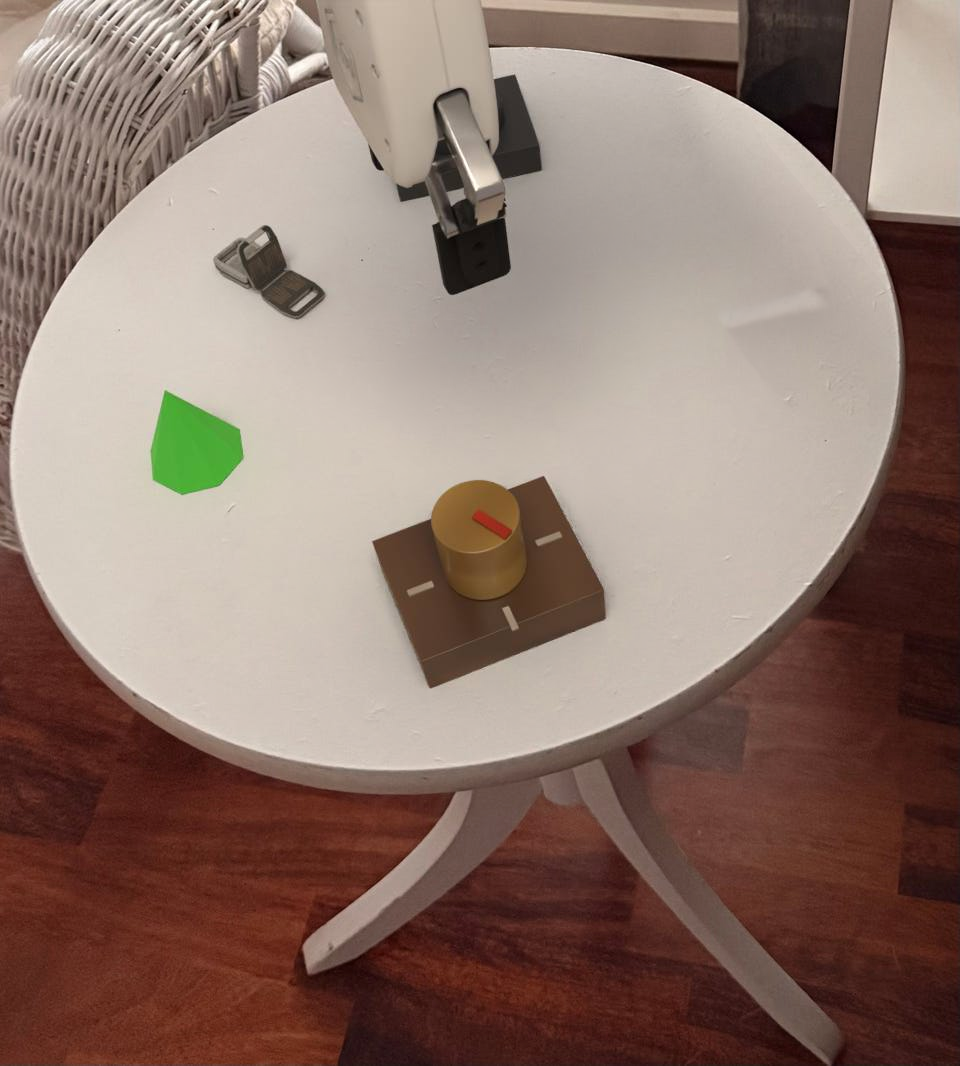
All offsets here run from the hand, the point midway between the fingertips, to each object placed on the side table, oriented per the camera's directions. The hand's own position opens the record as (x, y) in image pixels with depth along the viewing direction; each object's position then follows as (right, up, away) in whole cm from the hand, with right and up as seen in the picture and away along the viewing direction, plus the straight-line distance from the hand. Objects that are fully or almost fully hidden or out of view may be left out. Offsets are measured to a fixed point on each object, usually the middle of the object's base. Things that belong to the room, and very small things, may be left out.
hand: (439, 217), depth 60 cm
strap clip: (-12, +1, +23) cm, 26 cm away
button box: (+1, +12, +28) cm, 30 cm away
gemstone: (-15, -11, +15) cm, 24 cm away
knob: (+2, -17, +5) cm, 18 cm away
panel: (+3, -19, +7) cm, 20 cm away
